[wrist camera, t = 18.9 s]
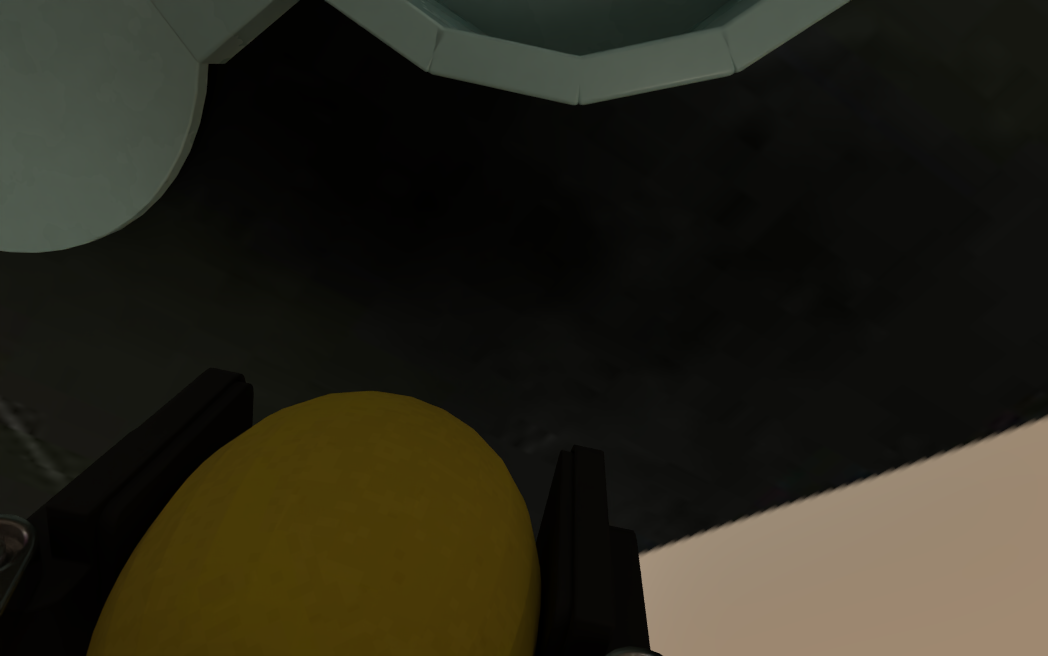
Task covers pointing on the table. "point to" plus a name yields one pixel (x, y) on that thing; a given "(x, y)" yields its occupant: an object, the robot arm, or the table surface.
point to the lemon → (335, 544)
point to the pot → (535, 38)
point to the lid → (89, 118)
